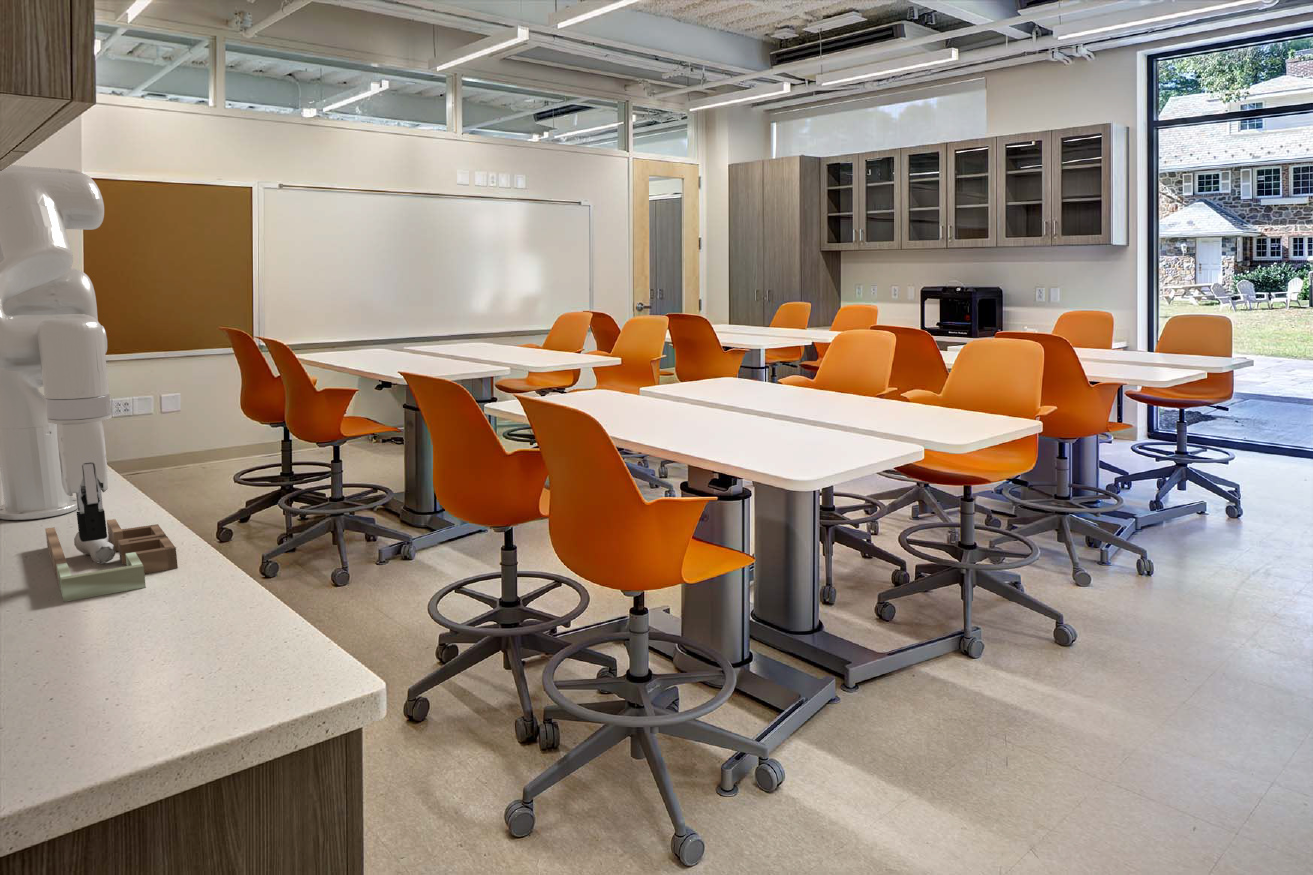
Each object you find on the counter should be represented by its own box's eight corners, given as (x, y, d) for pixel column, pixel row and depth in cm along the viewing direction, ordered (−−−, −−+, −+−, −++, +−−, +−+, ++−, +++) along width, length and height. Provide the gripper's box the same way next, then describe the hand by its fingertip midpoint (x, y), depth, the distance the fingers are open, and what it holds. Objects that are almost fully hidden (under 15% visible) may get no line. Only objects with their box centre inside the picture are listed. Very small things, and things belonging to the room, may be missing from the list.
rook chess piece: (86, 558, 140) (100, 575, 135) (66, 537, 138) (80, 553, 132) (113, 539, 142) (128, 555, 137) (94, 518, 140) (109, 533, 134)
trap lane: (47, 547, 143) (45, 528, 142) (152, 531, 151) (150, 514, 151) (63, 601, 120) (61, 579, 119) (186, 580, 128) (184, 559, 128)
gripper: (42, 405, 130) (57, 531, 133) (50, 419, 118) (66, 557, 122) (104, 400, 135) (117, 522, 138) (117, 413, 123) (131, 547, 126)
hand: (93, 538), depth 130 cm, fingers closed
